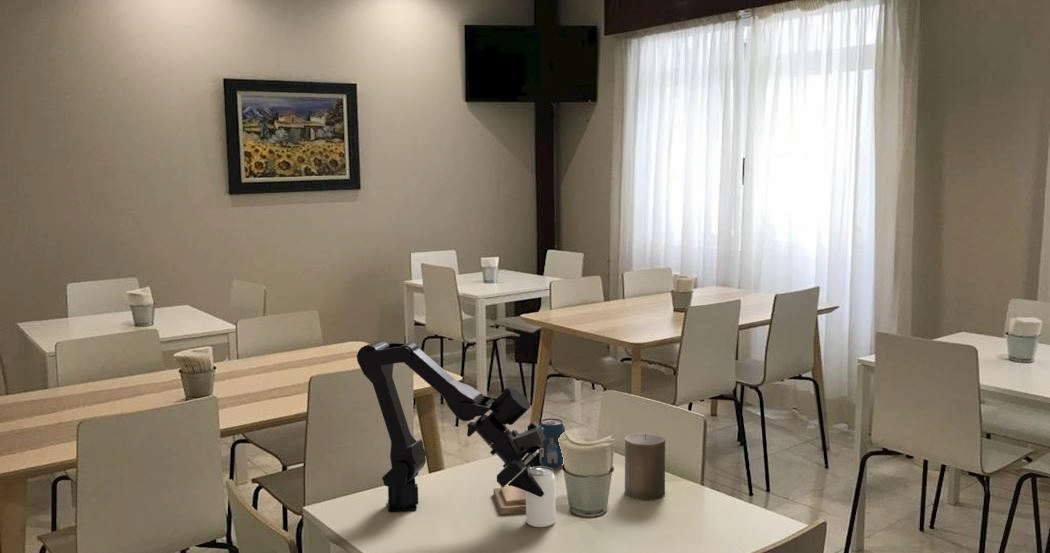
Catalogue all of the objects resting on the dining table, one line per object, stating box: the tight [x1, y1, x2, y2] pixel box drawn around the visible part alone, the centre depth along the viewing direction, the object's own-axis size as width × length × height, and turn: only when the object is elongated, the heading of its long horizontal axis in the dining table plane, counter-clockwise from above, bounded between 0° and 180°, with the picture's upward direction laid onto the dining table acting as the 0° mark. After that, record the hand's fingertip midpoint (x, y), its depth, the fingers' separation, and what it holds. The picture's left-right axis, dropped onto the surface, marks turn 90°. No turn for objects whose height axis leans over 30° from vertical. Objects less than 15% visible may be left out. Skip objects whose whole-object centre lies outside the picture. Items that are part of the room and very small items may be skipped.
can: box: [525, 466, 556, 529], centre depth 190 cm, size 6×6×12 cm
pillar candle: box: [624, 432, 666, 501], centre depth 207 cm, size 10×10×15 cm
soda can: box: [538, 418, 566, 470], centre depth 226 cm, size 7×7×12 cm
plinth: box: [493, 485, 526, 515], centre depth 202 cm, size 12×12×2 cm
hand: (546, 490), depth 190 cm, fingers closed on can, 6 cm apart
